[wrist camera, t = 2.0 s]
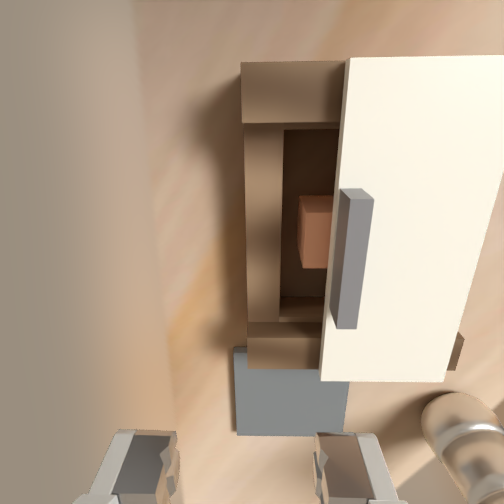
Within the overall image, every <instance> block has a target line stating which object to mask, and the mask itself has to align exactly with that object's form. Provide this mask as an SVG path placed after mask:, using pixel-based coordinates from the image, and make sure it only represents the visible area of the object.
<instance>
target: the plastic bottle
mask: <svg viewBox="0 0 504 504" xmlns="http://www.w3.org/2000/svg"><path fill="white" fill-rule="evenodd" d="M421 427H422V430H423V434H424V437H425V440H426V442H427V443H428V445H429V446H430V448H431V449H432V451H433V452H434V454H435V455H436V457H437V458H438V459H439V460H440V462H441V463H442V464H443V465H444V466H445V468H446V470H447V471H448V473H449V474H450V476H451V478H452V479H453V481H454V483H455V484H456V486H457V487H458V489H459V491H460V492H461V494H462V496H463V497H464V499H465V500H466V502H467V504H504V428H503V426H502V425H501V423H500V421H499V420H498V418H497V416H496V415H495V414H494V412H493V411H492V410H490V409H489V408H488V407H487V406H486V405H485V404H484V403H483V402H482V401H481V400H479V399H478V398H475V397H473V396H470V395H467V394H464V393H448V394H444V395H441V396H438V397H436V398H435V399H433V400H432V401H430V402H429V403H428V404H427V405H426V406H425V408H424V410H423V412H422V417H421Z"/></svg>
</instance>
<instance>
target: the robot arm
mask: <svg viewBox="0 0 504 504" xmlns="http://www.w3.org/2000/svg"><path fill="white" fill-rule="evenodd" d="M176 443H177V435H176V431H160V430H135V429H134V430H133V429H131V430H130V429H119V430H118V431H117V432H116V434H115V435H114V436H113V439H112V441H111V443H110V445H109V448H108V450H107V452H106V455H105V457H104V459H103V461H102V463H101V466H100V468H99V470H98V472H97V474H96V477H95V479H94V481H93V483H92V486H91V488H90V490H89V493H88V494H81V495H80V496H79V497H78V498H77V499H76V500H75V501H74V502H73V503H72V504H171V503H170V497H171V496H172V495H173V494H174V492H175V491H176V488H177V483H178V478H179V469H180V455H179V451H178V450H177V449H176V448H175V447H176ZM315 448H316V451H315V452H314V453H313V477H314V486H315V494H316V495H317V496H318V497H319V499H320V501H319V504H408V503H407V502H406V501H405V500H399V499H398V496H397V493H396V490H395V487H394V485H393V482H392V479H391V476H390V473H389V470H388V468H387V465H386V462H385V459H384V456H383V453H382V451H381V448H380V445H379V442H378V439H377V437H376V436H375V434H374V433H353V432H316V434H315Z"/></svg>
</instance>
